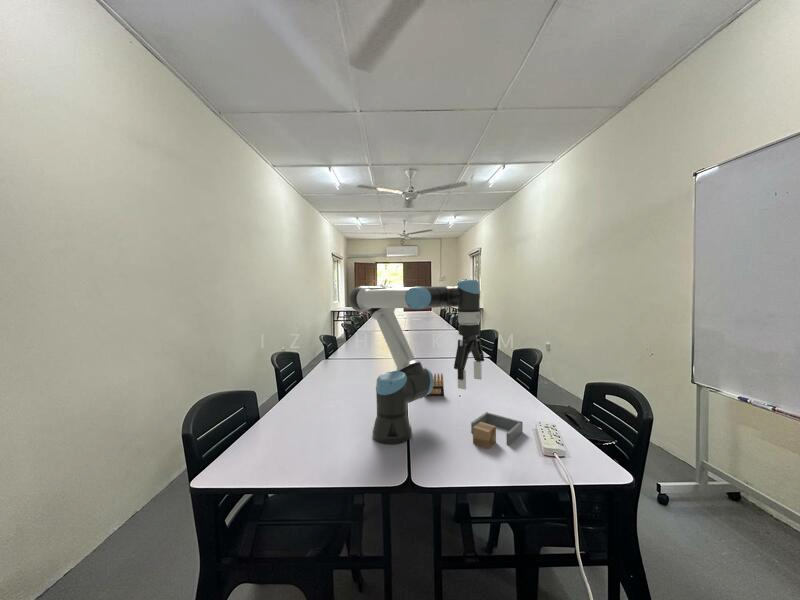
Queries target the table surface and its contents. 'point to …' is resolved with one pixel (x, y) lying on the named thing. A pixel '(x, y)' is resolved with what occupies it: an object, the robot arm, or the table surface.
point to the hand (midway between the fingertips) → (470, 383)
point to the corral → (501, 425)
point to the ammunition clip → (437, 386)
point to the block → (484, 435)
